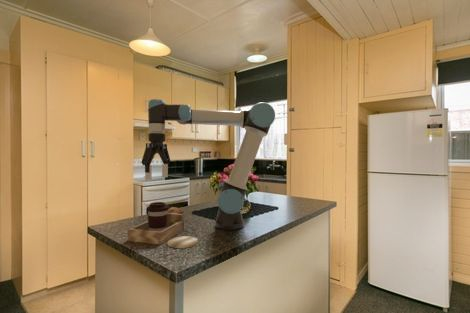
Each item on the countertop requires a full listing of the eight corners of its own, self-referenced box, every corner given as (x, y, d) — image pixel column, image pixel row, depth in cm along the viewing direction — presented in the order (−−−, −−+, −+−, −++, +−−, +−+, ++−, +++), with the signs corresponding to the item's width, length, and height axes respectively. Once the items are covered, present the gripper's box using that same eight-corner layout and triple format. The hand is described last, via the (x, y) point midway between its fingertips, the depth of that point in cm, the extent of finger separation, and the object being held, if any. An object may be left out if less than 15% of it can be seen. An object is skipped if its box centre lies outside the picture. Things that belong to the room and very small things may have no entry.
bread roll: (167, 221, 157) (161, 210, 156) (182, 213, 161) (177, 202, 159) (170, 226, 148) (164, 214, 147) (186, 217, 152) (180, 205, 150)
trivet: (202, 239, 115) (202, 237, 115) (190, 249, 103) (190, 248, 103) (176, 236, 119) (176, 235, 119) (161, 246, 106) (161, 244, 106)
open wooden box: (183, 230, 129) (183, 214, 128) (161, 244, 108) (161, 225, 108) (155, 227, 133) (154, 212, 133) (127, 240, 113) (127, 222, 113)
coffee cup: (171, 236, 119) (171, 203, 119) (150, 240, 114) (150, 206, 114) (164, 230, 128) (164, 200, 127) (144, 234, 122) (144, 202, 122)
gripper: (164, 135, 133) (164, 175, 134) (132, 131, 109) (132, 181, 110) (177, 134, 131) (177, 176, 132) (147, 130, 107) (148, 181, 108)
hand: (157, 178), depth 121 cm, fingers open, 13 cm apart
